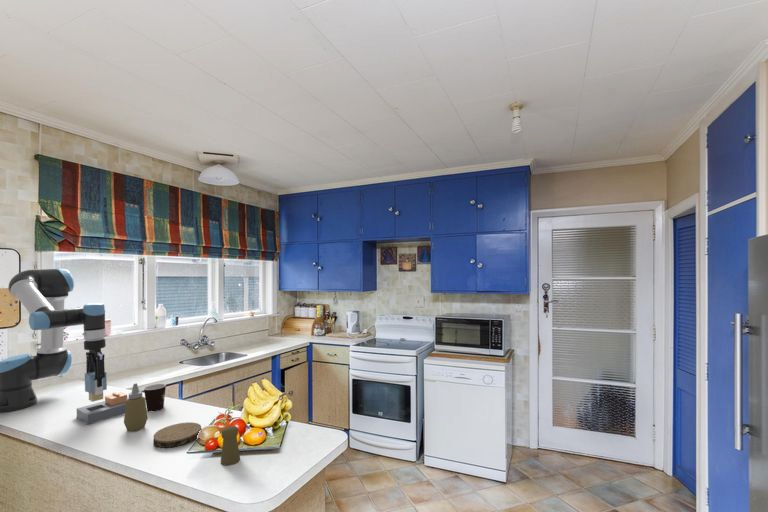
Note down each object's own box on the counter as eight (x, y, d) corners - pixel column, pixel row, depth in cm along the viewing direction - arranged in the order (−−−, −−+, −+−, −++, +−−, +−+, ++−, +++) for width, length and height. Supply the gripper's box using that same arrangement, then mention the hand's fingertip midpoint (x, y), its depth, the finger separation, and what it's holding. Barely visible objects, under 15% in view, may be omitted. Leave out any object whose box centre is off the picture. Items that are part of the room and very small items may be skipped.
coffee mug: (156, 413, 172) (155, 390, 172) (139, 412, 173) (139, 389, 174) (175, 403, 183) (175, 382, 183) (159, 402, 185) (159, 381, 185)
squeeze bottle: (152, 426, 158) (151, 381, 158) (134, 434, 150) (133, 387, 150) (137, 423, 161) (137, 380, 161) (118, 432, 153) (118, 386, 153)
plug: (85, 400, 168) (84, 373, 169) (101, 396, 173) (100, 370, 173) (90, 402, 165) (89, 375, 165) (106, 398, 170) (106, 372, 170)
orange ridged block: (110, 405, 171) (110, 397, 171) (105, 403, 175) (104, 394, 175) (127, 401, 176) (127, 392, 176) (121, 398, 180) (121, 390, 180)
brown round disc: (168, 453, 135) (168, 444, 135) (144, 443, 144) (144, 434, 144) (210, 435, 149) (210, 427, 149) (186, 426, 157) (186, 419, 157)
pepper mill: (223, 457, 131) (223, 424, 131) (242, 455, 132) (241, 422, 132) (217, 466, 125) (217, 431, 125) (237, 465, 126) (236, 430, 126)
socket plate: (87, 424, 161) (87, 414, 161) (76, 417, 169) (76, 408, 169) (135, 410, 176) (135, 401, 176) (123, 404, 183) (123, 396, 183)
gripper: (76, 338, 172) (77, 391, 172) (92, 343, 161) (93, 399, 160) (96, 335, 178) (97, 386, 178) (113, 339, 167) (114, 394, 167)
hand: (95, 392), depth 169 cm, fingers closed on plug, 6 cm apart
